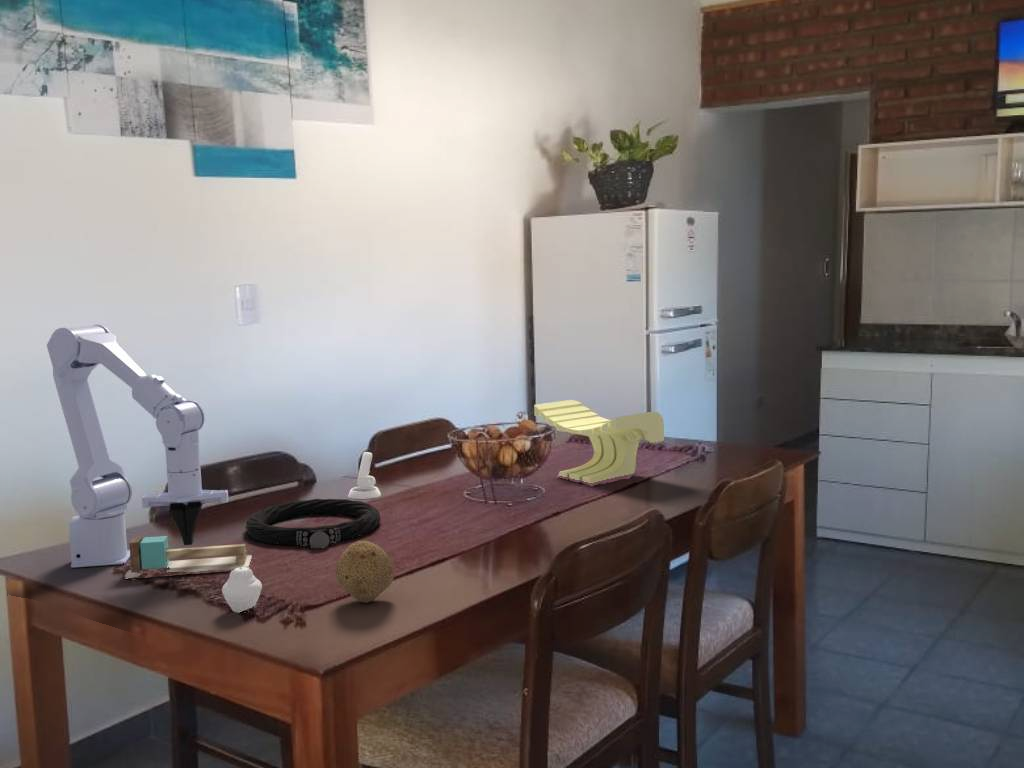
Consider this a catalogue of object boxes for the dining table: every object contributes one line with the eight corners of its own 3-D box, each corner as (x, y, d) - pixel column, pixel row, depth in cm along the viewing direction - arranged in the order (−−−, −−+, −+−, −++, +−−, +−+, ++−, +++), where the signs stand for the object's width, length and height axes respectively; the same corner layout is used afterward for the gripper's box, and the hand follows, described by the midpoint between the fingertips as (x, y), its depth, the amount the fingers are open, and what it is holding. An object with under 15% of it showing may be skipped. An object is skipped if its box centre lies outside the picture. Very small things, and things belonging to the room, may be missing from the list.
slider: (142, 569, 172) (140, 543, 171) (146, 563, 176) (144, 537, 175) (165, 567, 173) (163, 541, 172) (169, 561, 176) (167, 535, 176)
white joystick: (385, 466, 238) (387, 454, 232) (377, 511, 232) (380, 501, 226) (354, 461, 237) (356, 449, 231) (346, 506, 231) (348, 495, 225)
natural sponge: (324, 605, 155) (321, 544, 154) (360, 588, 162) (358, 530, 161) (368, 614, 150) (365, 552, 149) (403, 597, 158) (401, 537, 156)
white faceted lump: (269, 610, 153) (266, 567, 152) (231, 619, 150) (228, 575, 149) (254, 600, 158) (252, 558, 157) (217, 608, 155) (215, 565, 154)
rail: (125, 580, 170) (122, 545, 169) (133, 568, 177) (131, 535, 176) (248, 570, 174) (246, 536, 173) (251, 559, 181) (250, 526, 180)
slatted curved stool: (664, 482, 236) (663, 409, 234) (616, 492, 226) (615, 417, 224) (581, 464, 259) (580, 398, 257) (535, 473, 250) (534, 404, 248)
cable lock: (371, 492, 218) (390, 525, 189) (372, 509, 219) (391, 544, 190) (244, 502, 211) (244, 538, 182) (245, 519, 211) (245, 558, 183)
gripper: (136, 476, 168) (142, 552, 170) (223, 471, 171) (227, 546, 172) (144, 468, 175) (149, 541, 177) (227, 463, 177) (232, 536, 179)
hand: (188, 543), depth 175 cm, fingers closed
